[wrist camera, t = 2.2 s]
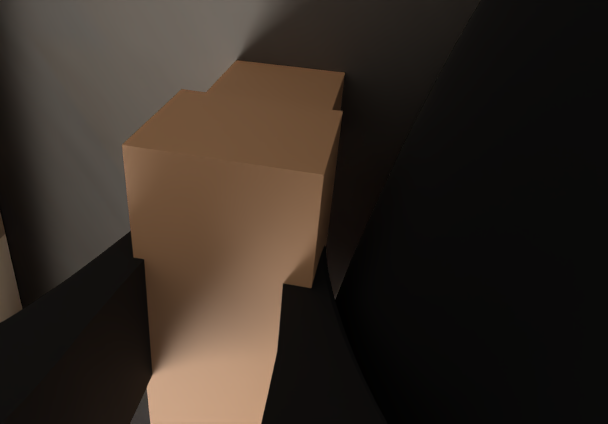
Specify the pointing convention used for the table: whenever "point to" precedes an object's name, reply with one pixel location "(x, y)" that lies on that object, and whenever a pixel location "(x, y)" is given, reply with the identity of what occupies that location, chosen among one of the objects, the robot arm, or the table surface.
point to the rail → (7, 280)
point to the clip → (229, 230)
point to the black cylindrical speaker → (495, 232)
